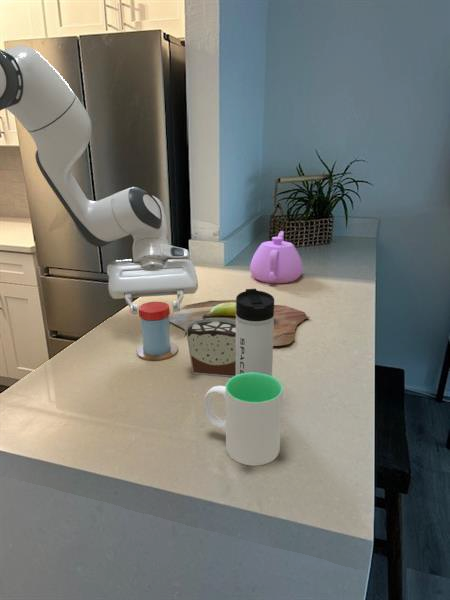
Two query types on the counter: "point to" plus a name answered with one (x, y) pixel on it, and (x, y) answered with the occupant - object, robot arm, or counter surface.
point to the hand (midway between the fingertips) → (155, 312)
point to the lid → (154, 310)
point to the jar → (155, 336)
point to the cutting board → (226, 309)
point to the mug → (250, 417)
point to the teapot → (276, 261)
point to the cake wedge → (212, 346)
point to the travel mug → (254, 332)
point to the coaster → (167, 355)
